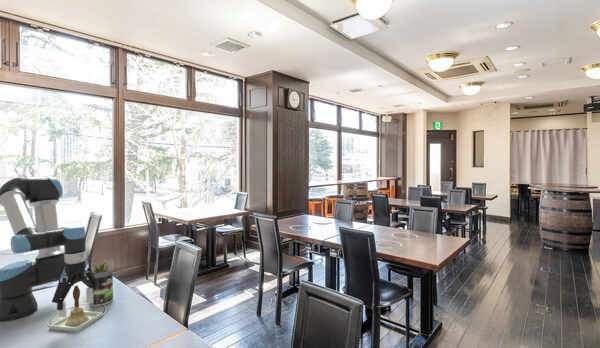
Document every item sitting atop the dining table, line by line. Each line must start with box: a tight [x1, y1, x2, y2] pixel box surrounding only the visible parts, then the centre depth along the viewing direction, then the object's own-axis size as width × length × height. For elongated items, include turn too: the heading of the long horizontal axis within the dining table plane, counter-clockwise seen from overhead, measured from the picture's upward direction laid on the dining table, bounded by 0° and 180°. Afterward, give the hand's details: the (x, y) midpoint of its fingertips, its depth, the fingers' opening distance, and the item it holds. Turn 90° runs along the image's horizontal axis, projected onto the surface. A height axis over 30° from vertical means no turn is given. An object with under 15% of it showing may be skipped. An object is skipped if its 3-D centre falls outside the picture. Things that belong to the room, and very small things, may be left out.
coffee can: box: [89, 270, 114, 307], centre depth 155 cm, size 10×10×14 cm
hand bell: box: [65, 285, 88, 326], centre depth 134 cm, size 8×8×16 cm
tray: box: [48, 310, 104, 334], centre depth 134 cm, size 14×14×2 cm
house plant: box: [84, 260, 113, 276], centre depth 168 cm, size 14×14×16 cm
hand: (76, 309), depth 134 cm, fingers open, 13 cm apart
